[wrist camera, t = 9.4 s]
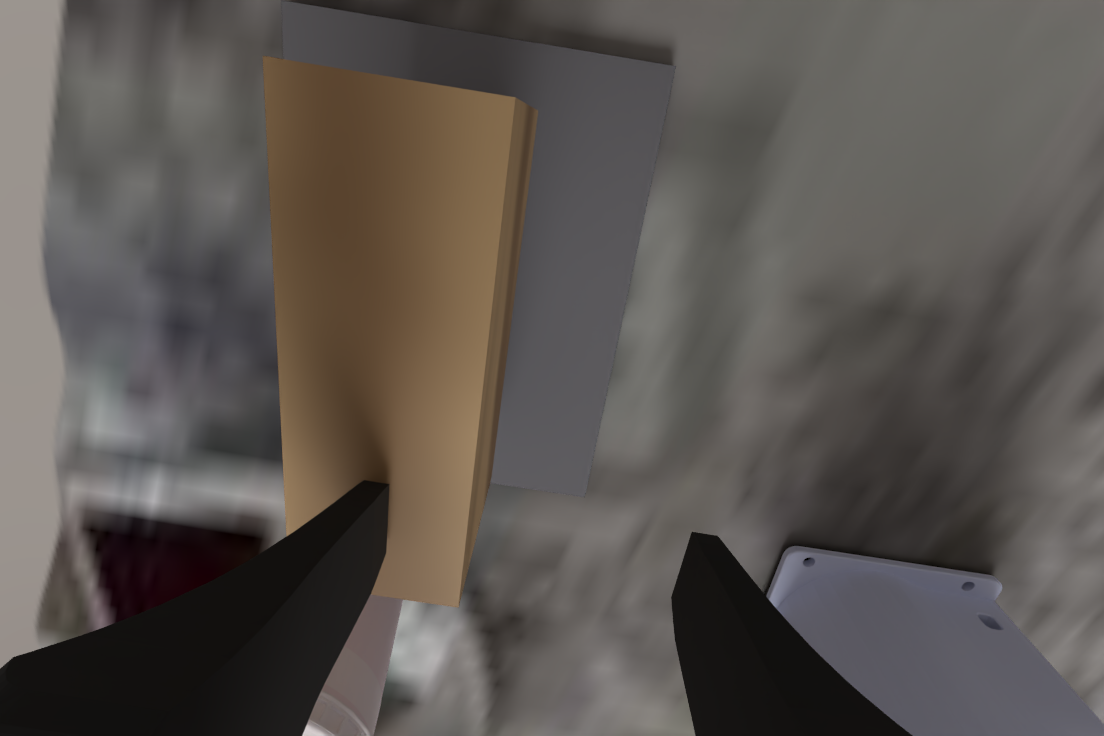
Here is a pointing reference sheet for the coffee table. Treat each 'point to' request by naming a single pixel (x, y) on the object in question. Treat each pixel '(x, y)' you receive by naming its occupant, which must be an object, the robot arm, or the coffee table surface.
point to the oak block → (394, 301)
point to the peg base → (538, 211)
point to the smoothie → (358, 674)
